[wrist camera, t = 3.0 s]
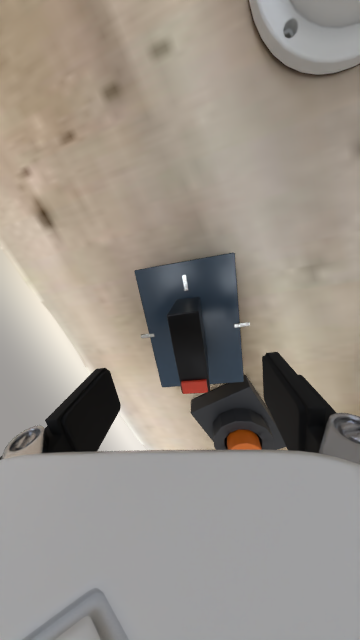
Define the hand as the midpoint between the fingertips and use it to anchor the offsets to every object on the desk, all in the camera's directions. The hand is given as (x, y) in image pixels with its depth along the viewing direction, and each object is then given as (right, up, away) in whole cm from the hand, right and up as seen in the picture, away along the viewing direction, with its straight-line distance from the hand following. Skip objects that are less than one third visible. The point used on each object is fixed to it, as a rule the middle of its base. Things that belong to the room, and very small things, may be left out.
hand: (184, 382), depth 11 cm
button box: (+7, -9, +13) cm, 18 cm away
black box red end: (+1, +3, +7) cm, 7 cm away
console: (+1, +4, +10) cm, 10 cm away
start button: (+7, -10, +10) cm, 16 cm away
